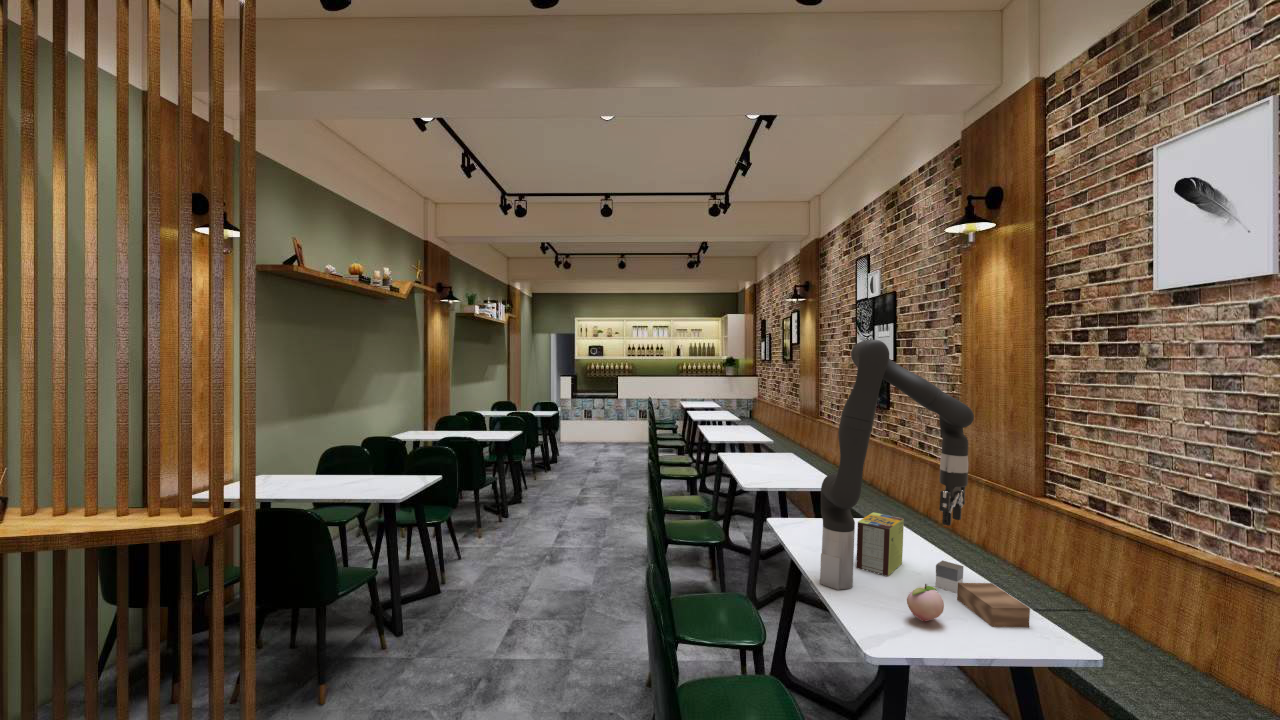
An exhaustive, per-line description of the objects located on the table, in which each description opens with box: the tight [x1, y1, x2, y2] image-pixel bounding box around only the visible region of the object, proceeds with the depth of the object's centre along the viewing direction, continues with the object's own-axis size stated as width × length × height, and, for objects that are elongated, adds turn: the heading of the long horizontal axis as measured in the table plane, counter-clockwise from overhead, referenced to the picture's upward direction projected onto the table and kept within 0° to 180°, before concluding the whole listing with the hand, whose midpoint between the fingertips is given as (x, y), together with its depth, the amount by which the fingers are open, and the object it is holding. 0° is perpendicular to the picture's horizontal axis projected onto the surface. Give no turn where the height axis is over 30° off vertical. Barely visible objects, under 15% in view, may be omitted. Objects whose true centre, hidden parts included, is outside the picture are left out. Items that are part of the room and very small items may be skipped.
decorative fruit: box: [906, 583, 945, 622], centre depth 155 cm, size 9×8×10 cm
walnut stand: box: [956, 582, 1031, 628], centre depth 162 cm, size 16×10×5 cm, turn 1°
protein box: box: [855, 512, 905, 577], centre depth 194 cm, size 10×15×16 cm
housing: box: [934, 559, 964, 594], centre depth 178 cm, size 5×6×7 cm
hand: (951, 522), depth 177 cm, fingers open, 8 cm apart
